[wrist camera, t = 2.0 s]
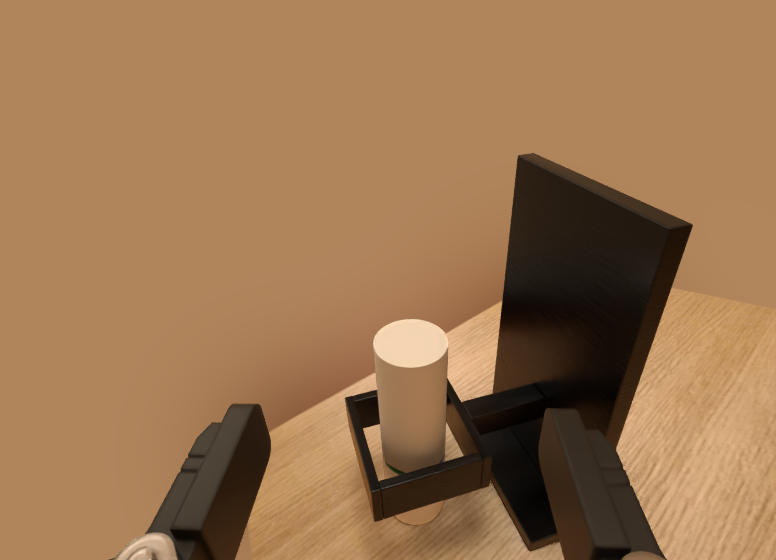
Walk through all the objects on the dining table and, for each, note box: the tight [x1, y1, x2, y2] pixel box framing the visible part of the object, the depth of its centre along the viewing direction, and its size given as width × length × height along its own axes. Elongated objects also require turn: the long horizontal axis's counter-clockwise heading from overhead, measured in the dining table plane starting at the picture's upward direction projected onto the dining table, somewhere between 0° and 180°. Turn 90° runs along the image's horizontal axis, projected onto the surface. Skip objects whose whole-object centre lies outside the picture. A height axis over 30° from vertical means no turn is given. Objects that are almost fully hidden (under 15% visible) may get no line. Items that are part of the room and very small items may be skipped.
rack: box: [345, 153, 693, 550], centre depth 28 cm, size 18×12×23 cm
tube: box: [373, 319, 448, 525], centre depth 29 cm, size 4×4×15 cm
